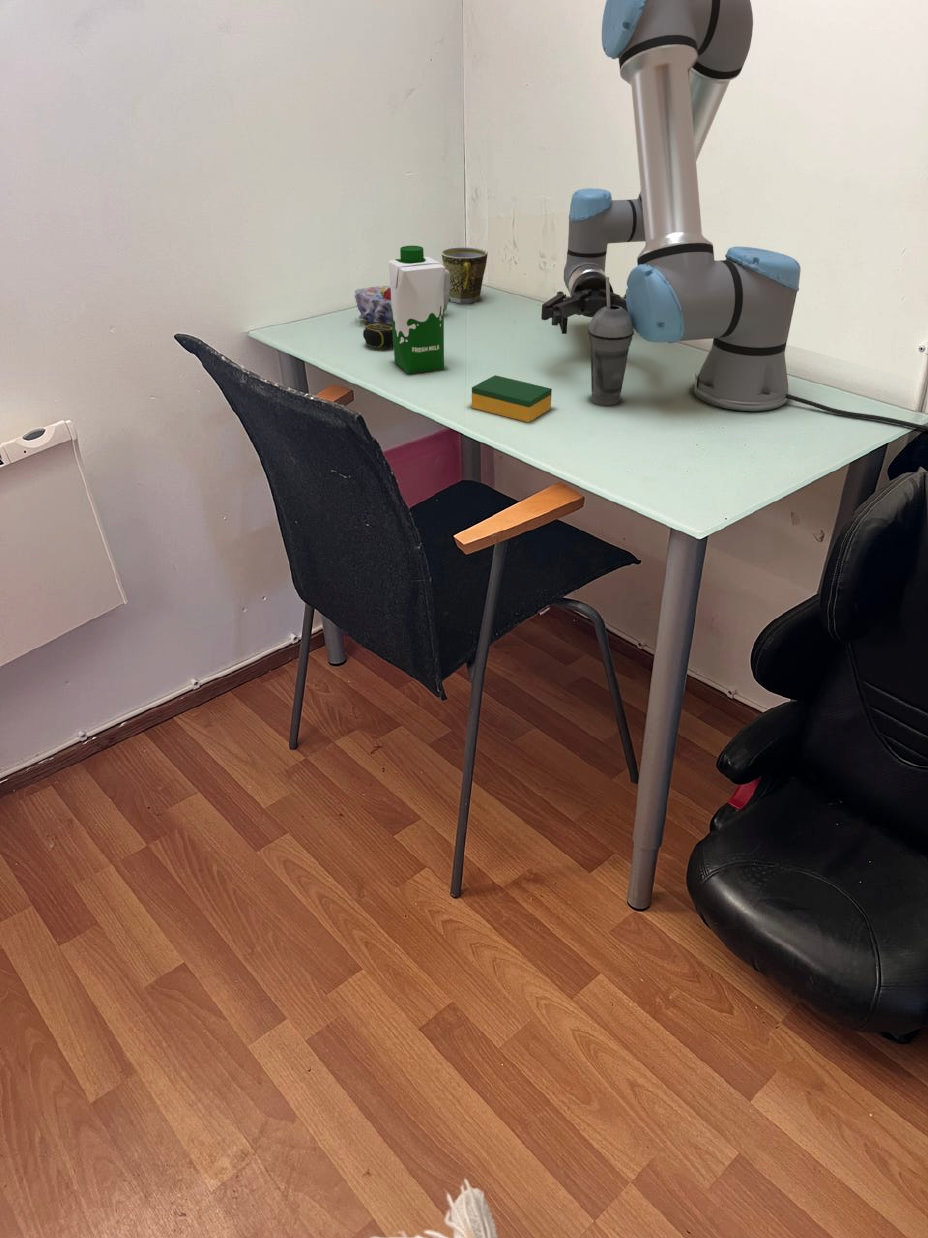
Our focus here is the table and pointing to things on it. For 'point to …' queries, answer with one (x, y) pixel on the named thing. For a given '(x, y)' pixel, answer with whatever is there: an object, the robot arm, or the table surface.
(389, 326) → the tape measure
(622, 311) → the beverage cup
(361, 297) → the cell model
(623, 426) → the table surface
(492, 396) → the sponge
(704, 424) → the table surface
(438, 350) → the milk carton
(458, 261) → the ceramic cup
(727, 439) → the table surface
